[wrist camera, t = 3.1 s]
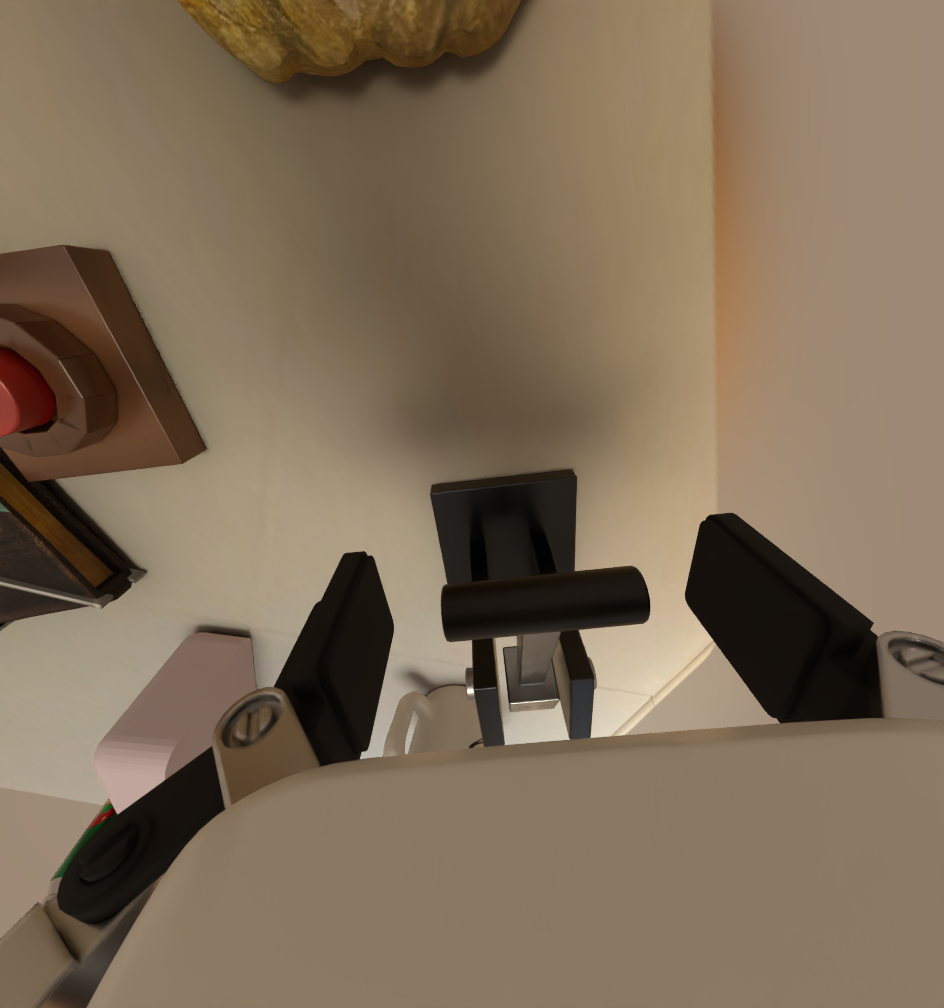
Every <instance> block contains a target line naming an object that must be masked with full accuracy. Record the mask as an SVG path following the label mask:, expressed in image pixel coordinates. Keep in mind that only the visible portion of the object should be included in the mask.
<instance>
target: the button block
mask: <svg viewBox="0 0 944 1008" xmlns="http://www.w3.org/2000/svg"><path fill="white" fill-rule="evenodd" d="M0 347H3V348H6V349H8V350H10V351H13V352H15V353H17V354H18V355H20V356H22V357H23V358H25V359H26V360H27V361H28V362H30V363H31V364H32V365H33V366H35V367H36V368H37V369H38V370H39V371H40V372H41V374H42V376H43V377H44V379H45V380H46V382H47V383H48V385H49V386H50V388H51V389H52V391H53V392H54V394H55V397H56V406H57V408H56V412H55V415H54V416H53V418H52V419H51V420H50V421H49V422H47V423H45V424H43V425H40V426H36V427H33V428H30V429H26V430H23V431H20V432H16V433H13V434H9V435H6V436H0V447H1V448H2V449H3V450H4V451H5V453H6V454H7V455H8V456H9V458H10V459H11V460H12V462H13V463H14V464H15V465H16V467H17V468H18V469H19V470H20V472H21V473H22V474H23V476H24V477H25V478H26V479H27V481H28V482H34V481H42V480H51V479H59V478H67V477H76V476H84V475H93V474H101V473H110V472H118V471H126V470H135V469H143V468H152V467H160V466H169V465H177V464H183V463H185V462H186V461H188V460H190V459H191V458H193V457H195V456H197V455H198V454H200V453H202V452H203V451H205V450H206V448H205V446H204V444H203V442H202V440H201V438H200V436H199V434H198V432H197V430H196V428H195V426H194V424H193V422H192V420H191V418H190V416H189V414H188V412H187V410H186V408H185V406H184V404H183V402H182V400H181V398H180V396H179V394H178V392H177V390H176V388H175V386H174V384H173V382H172V380H171V378H170V376H169V374H168V372H167V370H166V368H165V366H164V364H163V362H162V360H161V358H160V356H159V354H158V352H157V350H156V348H155V345H154V343H153V341H152V339H151V337H150V335H149V333H148V331H147V329H146V327H145V325H144V323H143V321H142V319H141V317H140V315H139V313H138V311H137V309H136V307H135V305H134V303H133V301H132V299H131V297H130V295H129V293H128V291H127V289H126V287H125V285H124V283H123V281H122V279H121V277H120V275H119V273H118V271H117V269H116V267H115V265H114V263H113V261H112V259H111V257H110V255H109V253H108V252H107V251H106V250H98V249H91V248H83V247H76V246H69V245H58V246H51V247H44V248H38V249H31V250H24V251H17V252H10V253H3V254H0Z"/></svg>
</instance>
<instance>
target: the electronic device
mask: <svg viewBox="0 0 944 1008" xmlns="http://www.w3.org/2000/svg"><path fill="white" fill-rule="evenodd" d="M255 690H256V682H255V672H254V662H253V652H252V642H251V639H250V638H245V637H237V636H229V635H222V634H214V633H206V632H200V633H196V634H193V635H191V636H189V637H188V638H186V639H185V640H184V641H183V642H182V643H181V644H180V646H179V647H178V648H177V649H176V650H175V652H174V653H173V654H172V655H171V657H170V658H169V659H168V660H167V661H166V663H165V664H164V665H163V666H162V668H161V669H160V670H159V671H158V672H157V674H156V675H155V676H154V677H153V678H152V680H151V681H150V682H149V683H148V685H147V686H146V687H145V688H144V689H143V691H142V692H141V693H140V694H139V695H138V697H137V698H136V699H135V700H134V702H133V703H132V704H131V705H130V706H129V708H128V709H127V710H126V711H125V712H124V714H123V715H122V716H121V717H120V719H119V720H118V721H117V722H116V723H115V725H114V726H113V727H112V728H111V730H110V731H109V732H108V733H107V734H106V736H105V737H104V738H103V739H102V741H101V742H100V744H99V745H98V747H97V749H96V751H95V753H94V757H93V768H94V771H95V773H96V775H97V777H98V779H99V780H100V782H101V784H102V786H103V788H104V790H105V792H106V794H107V795H108V797H109V799H110V801H111V803H112V805H113V807H114V809H115V811H116V812H117V814H119V813H120V812H122V811H123V810H124V809H126V808H127V807H129V806H130V805H131V804H133V803H134V802H135V801H137V800H138V799H140V798H141V797H142V796H144V795H145V794H146V793H148V792H149V791H151V790H152V789H153V788H155V787H156V786H157V785H159V784H160V783H162V782H163V781H164V780H166V779H167V778H168V777H170V776H171V775H173V774H174V773H175V772H177V771H178V770H179V769H181V768H182V767H184V766H185V765H186V764H188V763H189V762H190V761H192V760H193V759H195V758H196V757H197V756H199V755H200V754H201V753H203V752H204V751H206V750H207V749H208V748H210V747H211V746H212V735H213V732H214V730H215V727H216V725H217V723H218V722H219V720H220V719H221V717H222V716H223V714H224V713H225V712H226V711H227V710H228V709H229V708H230V707H231V706H232V705H233V704H234V703H235V702H237V701H238V700H239V699H241V698H242V697H243V696H245V695H247V694H249V693H251V692H253V691H255Z"/></svg>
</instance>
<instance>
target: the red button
mask: <svg viewBox="0 0 944 1008" xmlns="http://www.w3.org/2000/svg"><path fill="white" fill-rule="evenodd" d="M56 408H57V406H56V397H55V394H54V392H53V391H52V389H51V388H50V386H49V385H48V383H47V382H46V380H45V379H44V377H43V376H42V374H41V372H40V371H39V370H38V369H37V368H36V367H35V366H33V365H32V364H31V363H30V362H28V361H27V360H26V359H25V358H23V357H22V356H20V355H18V354H17V353H15V352H13V351H10V350H8V349H6V348H3V347H0V436H6V435H9V434H13V433H16V432H20V431H23V430H26V429H30V428H33V427H36V426H40V425H43V424H45V423H47V422H49V421H50V420H51V419H52V418H53V416H54V415H55V412H56Z"/></svg>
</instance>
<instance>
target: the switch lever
mask: <svg viewBox="0 0 944 1008" xmlns="http://www.w3.org/2000/svg"><path fill="white" fill-rule="evenodd" d="M441 616H442V625H443V631H444V635H445V638H446V640H447V641H449V642H456V641H467V640H477V639H487V638H498V637H508V636H517V646H512V647H504V648H503V655H504V664H505V673H506V682H507V691H508V700H509V709H510V712H519V711H531V710H542V709H553V708H555V706H556V705H557V703H558V702H559V700H560V697H559V691H558V686H557V681H556V675H555V670H554V664H553V659H552V657H553V654H554V651H555V648H556V645H557V642H558V639H559V637H560V634H561V631H571V630H582V629H592V628H603V627H613V626H624V625H634V624H643V623H645V622H646V621H647V620H648V619H649V616H650V598H649V593H648V589H647V586H646V583H645V580H644V578H643V576H642V574H641V573H640V571H639V570H638V569H637V568H636V567H633V566H623V567H613V568H603V569H594V570H584V571H574V572H564V573H554V574H544V575H535V576H525V577H515V578H505V579H495V580H486V581H476V582H466V583H456V584H446V585H444V586H443V588H442V592H441Z"/></svg>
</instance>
